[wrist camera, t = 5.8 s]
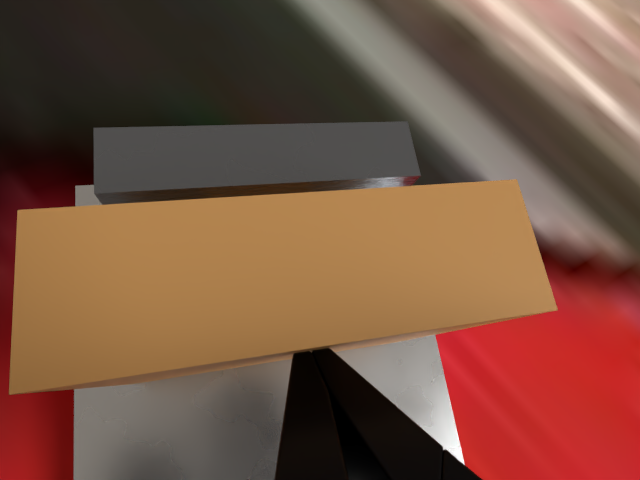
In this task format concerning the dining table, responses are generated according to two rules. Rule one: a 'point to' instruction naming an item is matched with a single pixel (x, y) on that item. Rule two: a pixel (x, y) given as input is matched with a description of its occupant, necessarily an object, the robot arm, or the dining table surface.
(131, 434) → the baseplate
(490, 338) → the dining table surface
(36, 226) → the tan chunky block
